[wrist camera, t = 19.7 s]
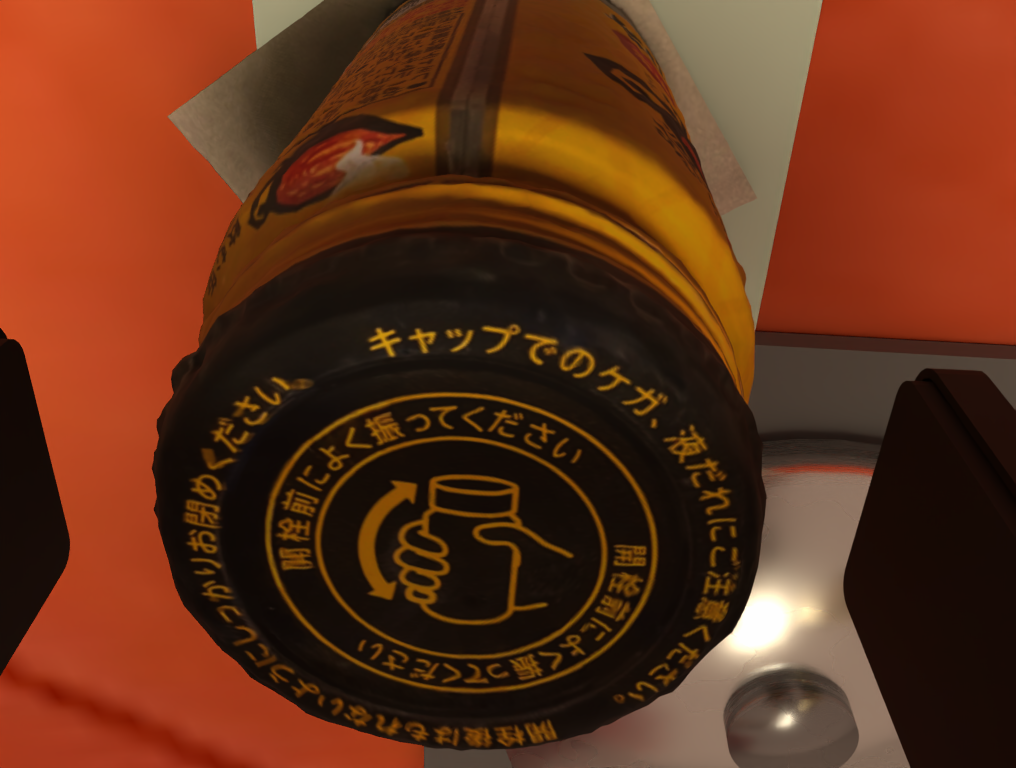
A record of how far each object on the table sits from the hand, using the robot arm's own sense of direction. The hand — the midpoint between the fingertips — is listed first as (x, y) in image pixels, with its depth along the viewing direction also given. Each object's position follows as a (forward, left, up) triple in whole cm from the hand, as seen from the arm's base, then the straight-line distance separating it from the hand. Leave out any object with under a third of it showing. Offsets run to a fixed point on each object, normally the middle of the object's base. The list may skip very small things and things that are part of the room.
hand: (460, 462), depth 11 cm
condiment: (0, +1, -10) cm, 10 cm away
